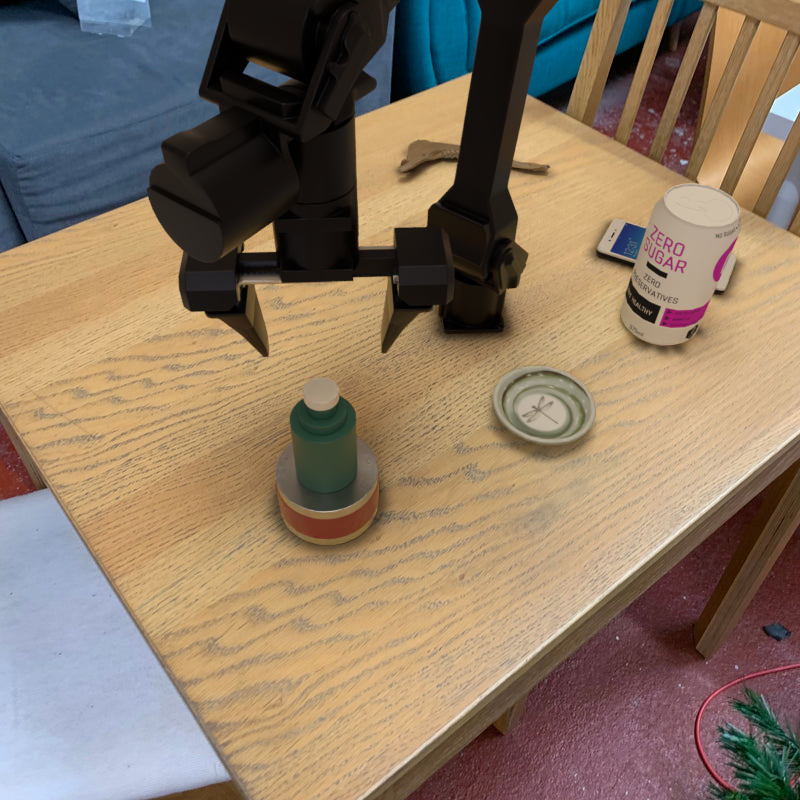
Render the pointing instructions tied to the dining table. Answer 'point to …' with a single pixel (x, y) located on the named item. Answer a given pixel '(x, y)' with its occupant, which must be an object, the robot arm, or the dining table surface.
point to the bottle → (324, 437)
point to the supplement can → (680, 263)
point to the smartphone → (626, 244)
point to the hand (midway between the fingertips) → (325, 351)
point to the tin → (328, 500)
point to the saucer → (544, 405)
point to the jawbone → (446, 155)
